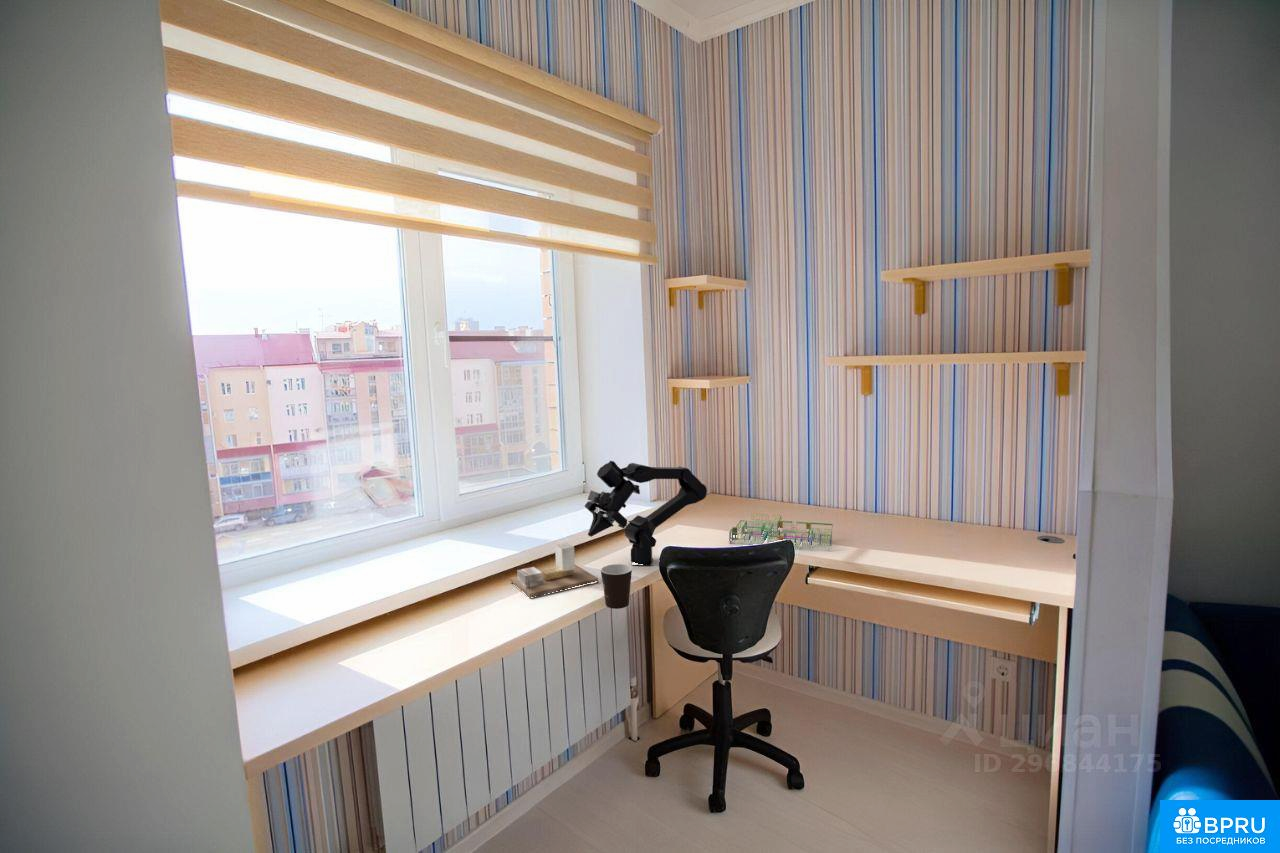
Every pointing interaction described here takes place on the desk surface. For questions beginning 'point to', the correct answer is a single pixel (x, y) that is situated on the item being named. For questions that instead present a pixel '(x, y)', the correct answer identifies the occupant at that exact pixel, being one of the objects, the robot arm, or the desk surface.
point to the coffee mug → (616, 585)
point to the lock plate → (549, 581)
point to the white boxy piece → (561, 562)
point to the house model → (779, 524)
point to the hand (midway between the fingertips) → (589, 535)
